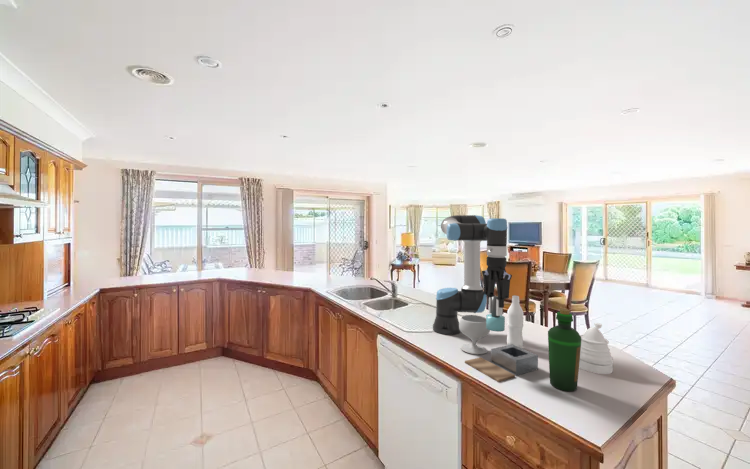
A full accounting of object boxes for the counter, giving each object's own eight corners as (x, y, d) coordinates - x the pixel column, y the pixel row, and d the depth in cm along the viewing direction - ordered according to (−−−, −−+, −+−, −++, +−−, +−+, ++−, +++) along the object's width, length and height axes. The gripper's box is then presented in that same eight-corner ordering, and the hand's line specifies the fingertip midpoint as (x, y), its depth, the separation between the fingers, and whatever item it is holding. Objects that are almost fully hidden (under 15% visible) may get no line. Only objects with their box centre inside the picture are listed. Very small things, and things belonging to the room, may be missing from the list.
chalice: (474, 358, 136) (474, 324, 135) (452, 347, 148) (452, 316, 148) (496, 352, 142) (496, 320, 142) (473, 342, 155) (474, 312, 154)
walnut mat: (464, 362, 131) (464, 360, 131) (480, 359, 135) (480, 357, 135) (497, 382, 115) (497, 379, 115) (515, 377, 119) (515, 375, 119)
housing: (491, 362, 131) (491, 348, 131) (512, 357, 137) (512, 344, 137) (515, 375, 120) (516, 360, 120) (537, 369, 125) (538, 355, 125)
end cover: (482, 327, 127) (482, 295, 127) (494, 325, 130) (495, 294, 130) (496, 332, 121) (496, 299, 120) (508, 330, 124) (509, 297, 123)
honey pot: (593, 359, 136) (593, 318, 135) (620, 373, 123) (622, 328, 123) (567, 361, 134) (568, 320, 133) (593, 375, 121) (594, 329, 121)
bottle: (588, 391, 109) (589, 312, 108) (564, 395, 106) (566, 314, 105) (561, 377, 119) (563, 305, 118) (539, 381, 116) (541, 307, 115)
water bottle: (524, 351, 144) (525, 298, 143) (508, 350, 145) (509, 297, 145) (520, 345, 151) (521, 294, 150) (505, 344, 152) (506, 294, 152)
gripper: (474, 255, 130) (473, 310, 131) (506, 258, 116) (505, 320, 116) (487, 254, 134) (486, 308, 134) (520, 257, 119) (519, 318, 120)
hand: (495, 313), depth 125 cm, fingers closed on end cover, 3 cm apart
